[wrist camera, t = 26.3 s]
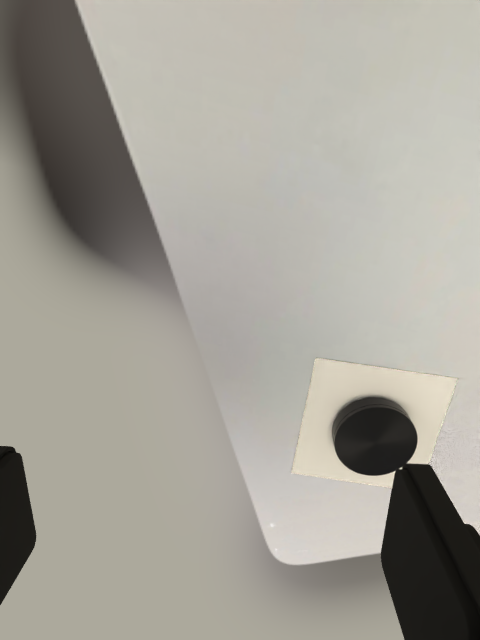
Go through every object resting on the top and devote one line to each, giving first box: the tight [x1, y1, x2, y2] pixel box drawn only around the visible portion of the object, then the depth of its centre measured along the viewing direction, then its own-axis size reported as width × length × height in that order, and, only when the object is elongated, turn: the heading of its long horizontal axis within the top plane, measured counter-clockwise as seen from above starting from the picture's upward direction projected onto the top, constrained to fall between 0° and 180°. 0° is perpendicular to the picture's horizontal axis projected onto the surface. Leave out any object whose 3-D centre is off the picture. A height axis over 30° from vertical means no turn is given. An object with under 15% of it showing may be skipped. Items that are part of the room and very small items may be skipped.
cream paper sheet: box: [291, 358, 458, 488], centre depth 37 cm, size 12×12×2 cm
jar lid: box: [332, 397, 418, 476], centre depth 37 cm, size 7×7×2 cm
